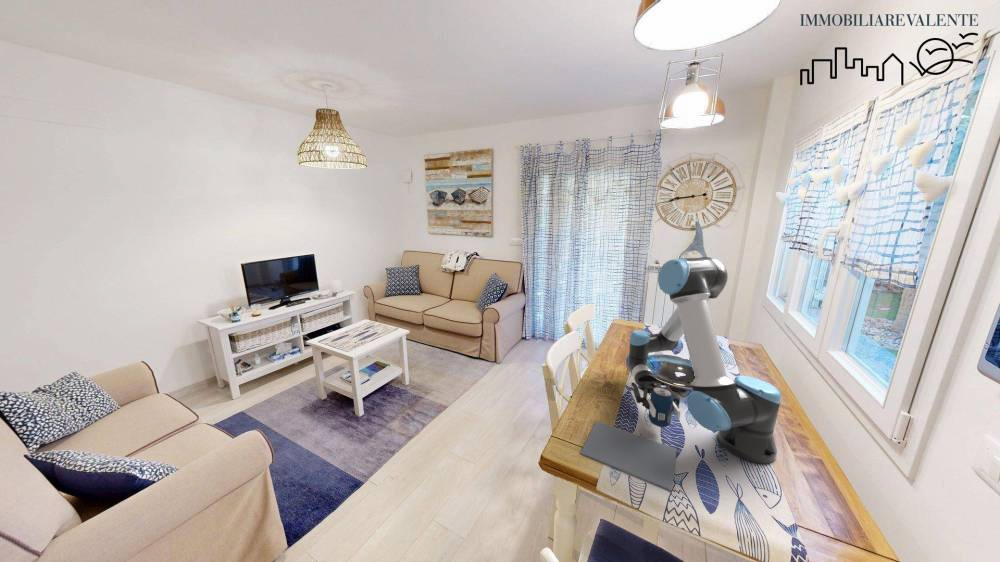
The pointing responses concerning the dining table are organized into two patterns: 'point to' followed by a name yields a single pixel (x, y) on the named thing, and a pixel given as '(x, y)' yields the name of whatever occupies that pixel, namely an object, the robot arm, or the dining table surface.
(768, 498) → the dining table surface
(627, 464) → the mat
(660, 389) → the soda can
